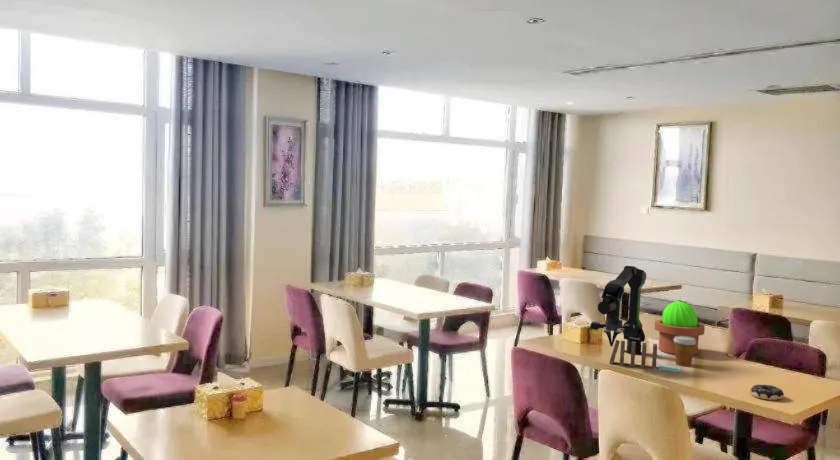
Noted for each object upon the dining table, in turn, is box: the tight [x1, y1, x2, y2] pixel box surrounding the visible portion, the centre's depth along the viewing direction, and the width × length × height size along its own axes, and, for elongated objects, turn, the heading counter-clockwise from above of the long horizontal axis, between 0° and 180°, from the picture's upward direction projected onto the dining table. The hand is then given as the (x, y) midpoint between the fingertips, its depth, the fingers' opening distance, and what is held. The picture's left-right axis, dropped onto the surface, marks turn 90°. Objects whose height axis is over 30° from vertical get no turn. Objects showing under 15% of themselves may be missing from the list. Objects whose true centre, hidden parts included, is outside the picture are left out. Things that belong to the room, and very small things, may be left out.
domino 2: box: [619, 340, 626, 366], centre depth 311 cm, size 2×5×10 cm, turn 162°
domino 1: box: [608, 339, 621, 365], centre depth 312 cm, size 2×5×10 cm, turn 163°
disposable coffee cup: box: [674, 336, 696, 367], centre depth 314 cm, size 10×10×12 cm
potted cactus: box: [654, 300, 705, 356], centre depth 339 cm, size 22×22×25 cm
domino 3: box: [630, 342, 636, 368], centre depth 310 cm, size 2×5×10 cm, turn 162°
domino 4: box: [640, 342, 647, 369], centre depth 308 cm, size 2×5×10 cm, turn 162°
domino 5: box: [651, 343, 658, 370], centre depth 307 cm, size 2×5×10 cm, turn 162°
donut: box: [749, 384, 785, 401], centre depth 269 cm, size 11×12×4 cm
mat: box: [658, 364, 682, 373], centre depth 305 cm, size 9×8×1 cm
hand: (611, 346), depth 312 cm, fingers closed
